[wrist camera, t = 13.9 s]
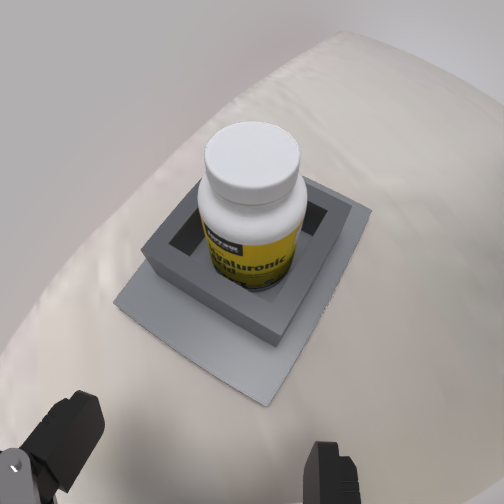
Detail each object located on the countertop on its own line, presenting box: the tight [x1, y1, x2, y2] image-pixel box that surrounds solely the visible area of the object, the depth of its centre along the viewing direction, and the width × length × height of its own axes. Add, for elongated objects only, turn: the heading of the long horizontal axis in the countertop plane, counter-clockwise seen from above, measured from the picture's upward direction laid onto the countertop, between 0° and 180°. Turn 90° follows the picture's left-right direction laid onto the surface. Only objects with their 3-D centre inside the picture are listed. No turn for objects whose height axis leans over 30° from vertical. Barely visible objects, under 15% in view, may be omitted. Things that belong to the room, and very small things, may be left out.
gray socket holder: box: [113, 176, 372, 407], centre depth 20 cm, size 16×12×5 cm
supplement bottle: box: [198, 121, 307, 291], centre depth 17 cm, size 5×5×10 cm
